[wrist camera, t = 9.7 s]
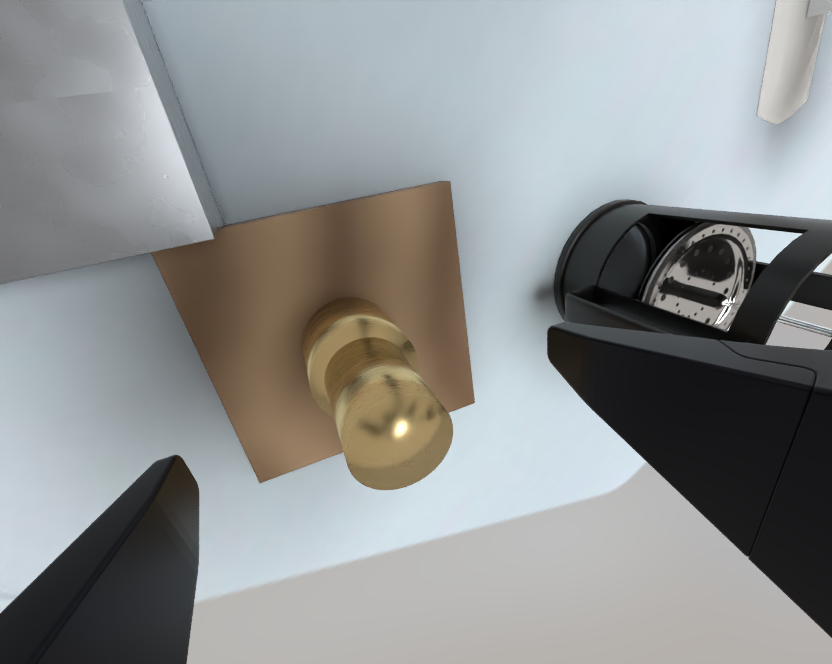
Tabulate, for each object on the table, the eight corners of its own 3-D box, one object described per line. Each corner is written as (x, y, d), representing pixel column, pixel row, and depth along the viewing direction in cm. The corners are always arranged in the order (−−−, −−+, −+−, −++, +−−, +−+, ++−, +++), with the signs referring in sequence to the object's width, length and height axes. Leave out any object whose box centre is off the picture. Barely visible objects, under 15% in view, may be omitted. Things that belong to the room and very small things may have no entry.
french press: (677, 185, 26) (2054, 226, 6) (659, 310, 30) (1442, 584, 10) (530, 221, 23) (2278, 541, 3) (533, 355, 27) (1284, 866, 7)
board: (442, 180, 20) (450, 181, 19) (467, 395, 26) (474, 402, 25) (153, 240, 17) (147, 244, 16) (260, 471, 23) (259, 483, 22)
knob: (383, 286, 20) (460, 359, 12) (400, 366, 22) (474, 470, 15) (289, 312, 19) (307, 411, 11) (316, 394, 21) (348, 524, 13)
